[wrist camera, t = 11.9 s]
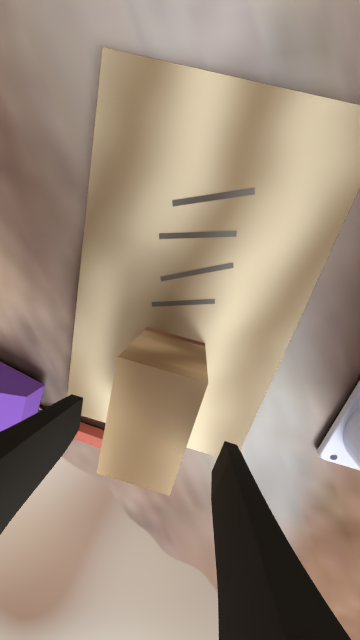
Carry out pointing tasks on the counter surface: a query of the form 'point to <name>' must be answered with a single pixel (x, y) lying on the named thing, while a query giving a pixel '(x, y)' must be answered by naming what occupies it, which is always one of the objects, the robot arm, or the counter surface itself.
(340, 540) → the counter surface
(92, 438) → the red square bar
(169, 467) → the block
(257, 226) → the board
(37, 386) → the bracket
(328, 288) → the counter surface
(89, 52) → the counter surface
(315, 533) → the counter surface
